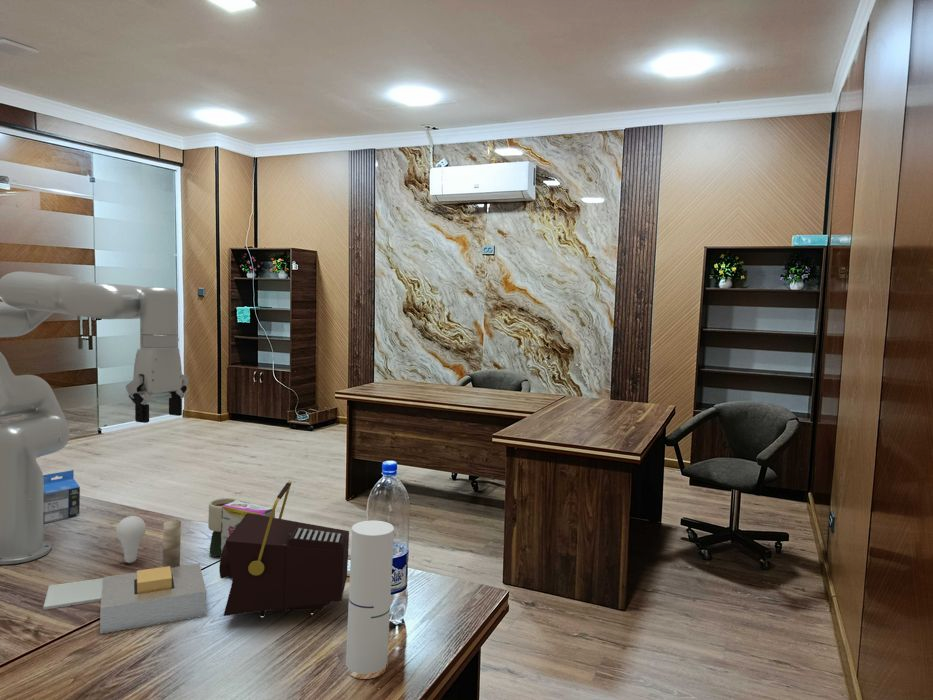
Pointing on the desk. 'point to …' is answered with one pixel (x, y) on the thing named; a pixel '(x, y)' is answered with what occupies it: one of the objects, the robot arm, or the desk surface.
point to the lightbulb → (130, 536)
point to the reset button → (154, 580)
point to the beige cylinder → (171, 543)
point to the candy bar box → (238, 516)
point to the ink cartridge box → (60, 497)
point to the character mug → (216, 523)
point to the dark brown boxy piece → (283, 564)
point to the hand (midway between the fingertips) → (159, 418)
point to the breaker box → (151, 600)
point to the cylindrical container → (369, 596)
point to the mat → (73, 593)
